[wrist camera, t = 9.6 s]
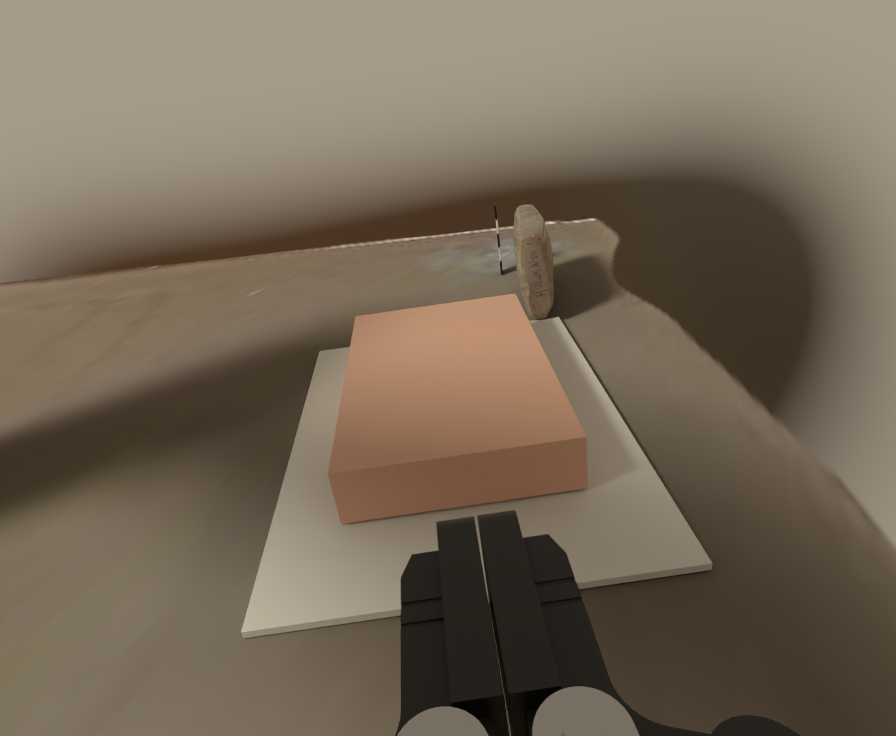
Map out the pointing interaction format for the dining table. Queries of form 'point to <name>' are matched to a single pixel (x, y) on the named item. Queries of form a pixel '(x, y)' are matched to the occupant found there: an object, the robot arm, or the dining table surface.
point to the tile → (451, 413)
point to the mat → (460, 513)
